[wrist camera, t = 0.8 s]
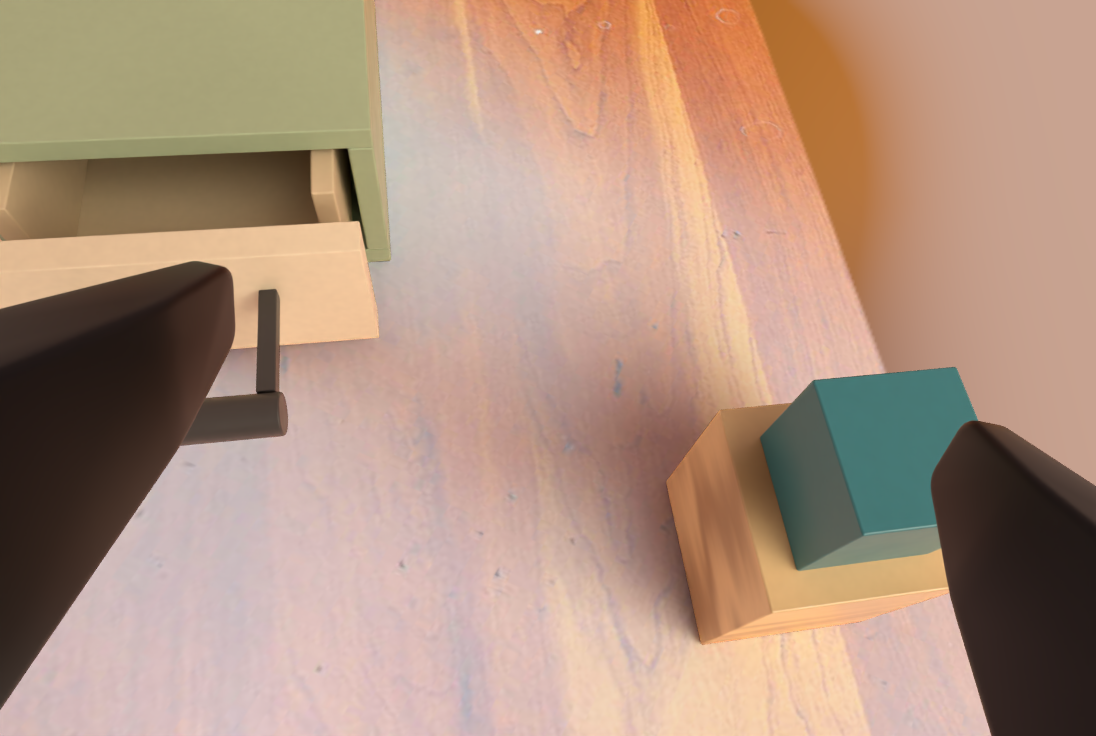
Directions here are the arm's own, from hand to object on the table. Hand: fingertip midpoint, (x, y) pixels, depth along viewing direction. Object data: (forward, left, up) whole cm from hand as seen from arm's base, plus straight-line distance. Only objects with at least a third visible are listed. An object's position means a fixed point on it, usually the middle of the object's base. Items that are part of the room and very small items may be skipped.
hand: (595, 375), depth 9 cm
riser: (+5, -8, -19) cm, 22 cm away
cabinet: (+15, +20, -19) cm, 32 cm away
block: (+5, -8, -12) cm, 16 cm away
